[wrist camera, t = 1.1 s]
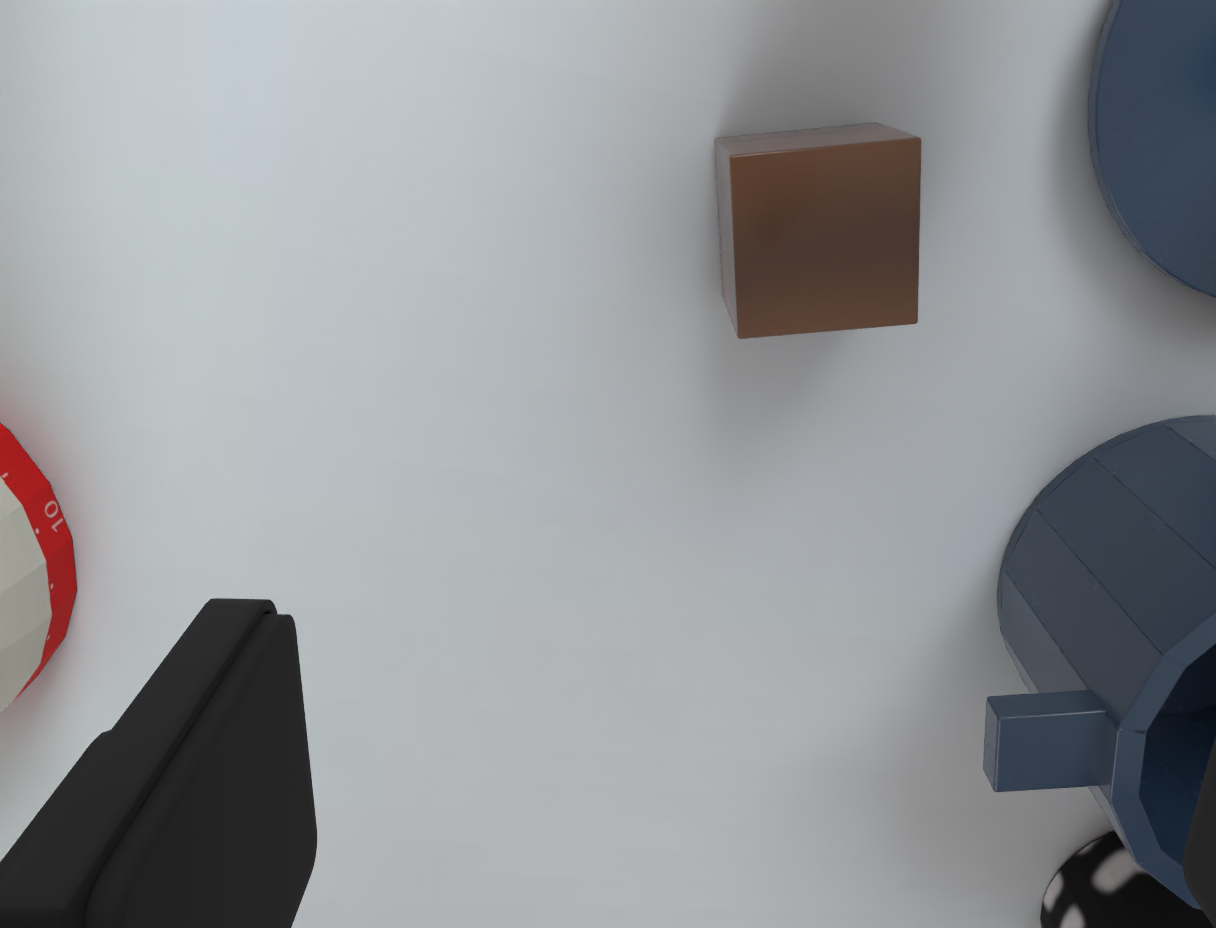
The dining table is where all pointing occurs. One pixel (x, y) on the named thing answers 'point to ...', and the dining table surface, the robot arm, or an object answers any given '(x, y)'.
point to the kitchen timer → (30, 570)
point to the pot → (1116, 638)
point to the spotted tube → (1113, 894)
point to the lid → (1159, 132)
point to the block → (819, 229)
